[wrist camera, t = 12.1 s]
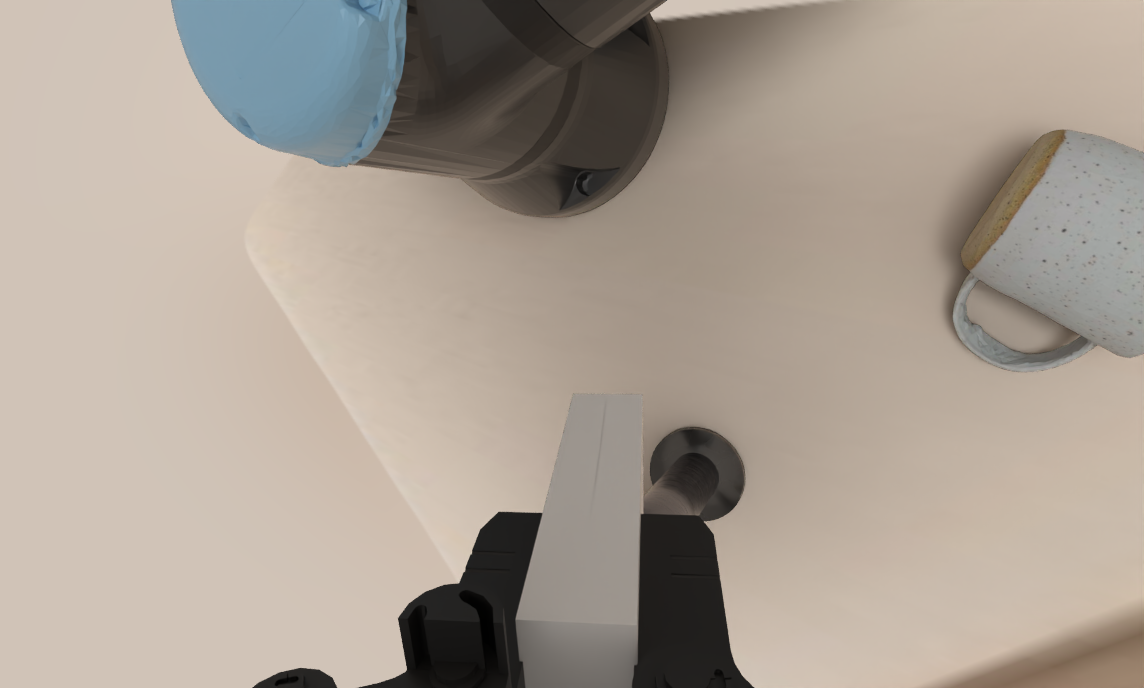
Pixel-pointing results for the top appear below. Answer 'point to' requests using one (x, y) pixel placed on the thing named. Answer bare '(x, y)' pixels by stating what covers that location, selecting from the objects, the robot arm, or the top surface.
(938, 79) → the top surface
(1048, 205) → the ceramic mug
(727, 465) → the gate post
